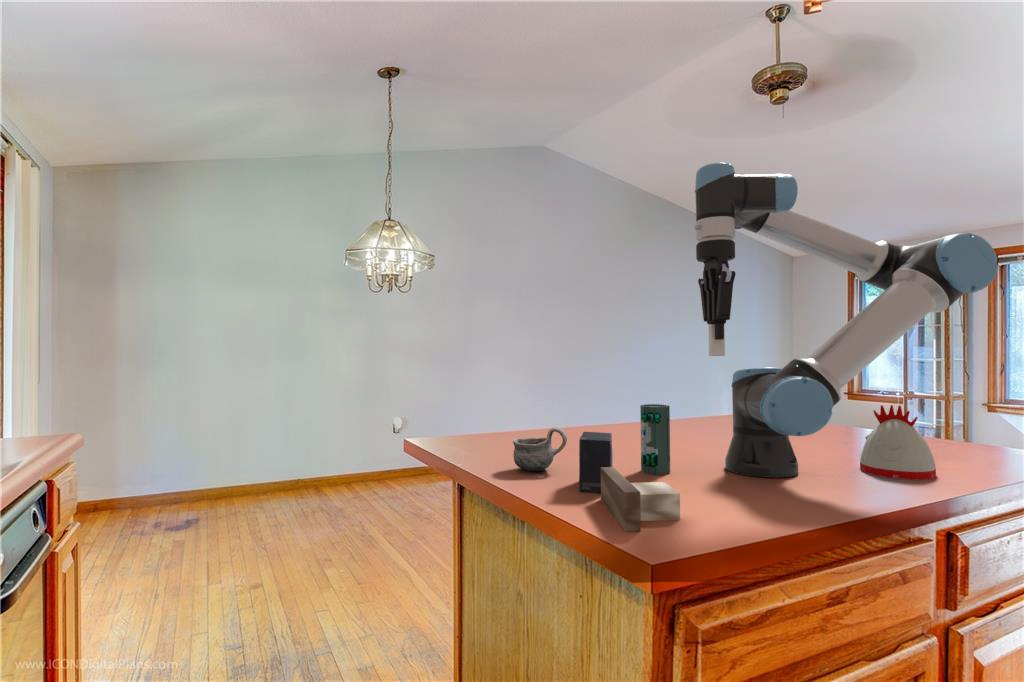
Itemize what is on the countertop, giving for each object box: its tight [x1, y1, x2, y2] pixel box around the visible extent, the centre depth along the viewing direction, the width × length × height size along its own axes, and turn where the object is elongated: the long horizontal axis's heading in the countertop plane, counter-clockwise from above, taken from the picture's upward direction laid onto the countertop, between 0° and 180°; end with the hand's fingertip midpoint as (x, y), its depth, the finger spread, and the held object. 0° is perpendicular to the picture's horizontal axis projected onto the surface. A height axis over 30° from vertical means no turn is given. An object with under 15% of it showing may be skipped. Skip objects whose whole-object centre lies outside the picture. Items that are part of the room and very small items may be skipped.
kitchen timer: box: [859, 404, 937, 480], centre depth 124 cm, size 14×14×15 cm
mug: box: [512, 427, 568, 472], centre depth 129 cm, size 10×12×10 cm
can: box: [639, 403, 671, 476], centre depth 127 cm, size 6×6×15 cm
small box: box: [578, 431, 613, 493], centre depth 114 cm, size 11×6×10 cm, turn 168°
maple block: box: [630, 481, 681, 522], centre depth 95 cm, size 8×8×4 cm
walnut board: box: [600, 466, 642, 532], centre depth 95 cm, size 2×18×6 cm, turn 3°
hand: (716, 355), depth 114 cm, fingers closed
